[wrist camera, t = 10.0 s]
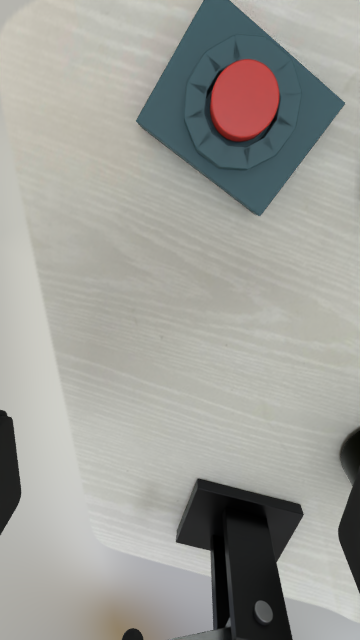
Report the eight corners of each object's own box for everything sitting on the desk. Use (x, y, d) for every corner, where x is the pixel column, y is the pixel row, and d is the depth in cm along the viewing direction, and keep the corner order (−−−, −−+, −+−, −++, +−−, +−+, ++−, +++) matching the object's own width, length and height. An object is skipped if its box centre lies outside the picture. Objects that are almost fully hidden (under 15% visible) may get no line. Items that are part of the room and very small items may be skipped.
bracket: (176, 532, 37) (167, 676, 26) (197, 478, 34) (197, 614, 23) (272, 555, 38) (303, 705, 27) (300, 504, 35) (348, 649, 24)
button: (197, 116, 20) (197, 109, 18) (236, 54, 19) (239, 41, 17) (246, 155, 21) (250, 152, 19) (286, 97, 19) (294, 88, 18)
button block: (141, 127, 23) (130, 115, 20) (210, 4, 21) (213, -36, 17) (254, 214, 25) (264, 218, 21) (332, 110, 23) (359, 95, 19)
